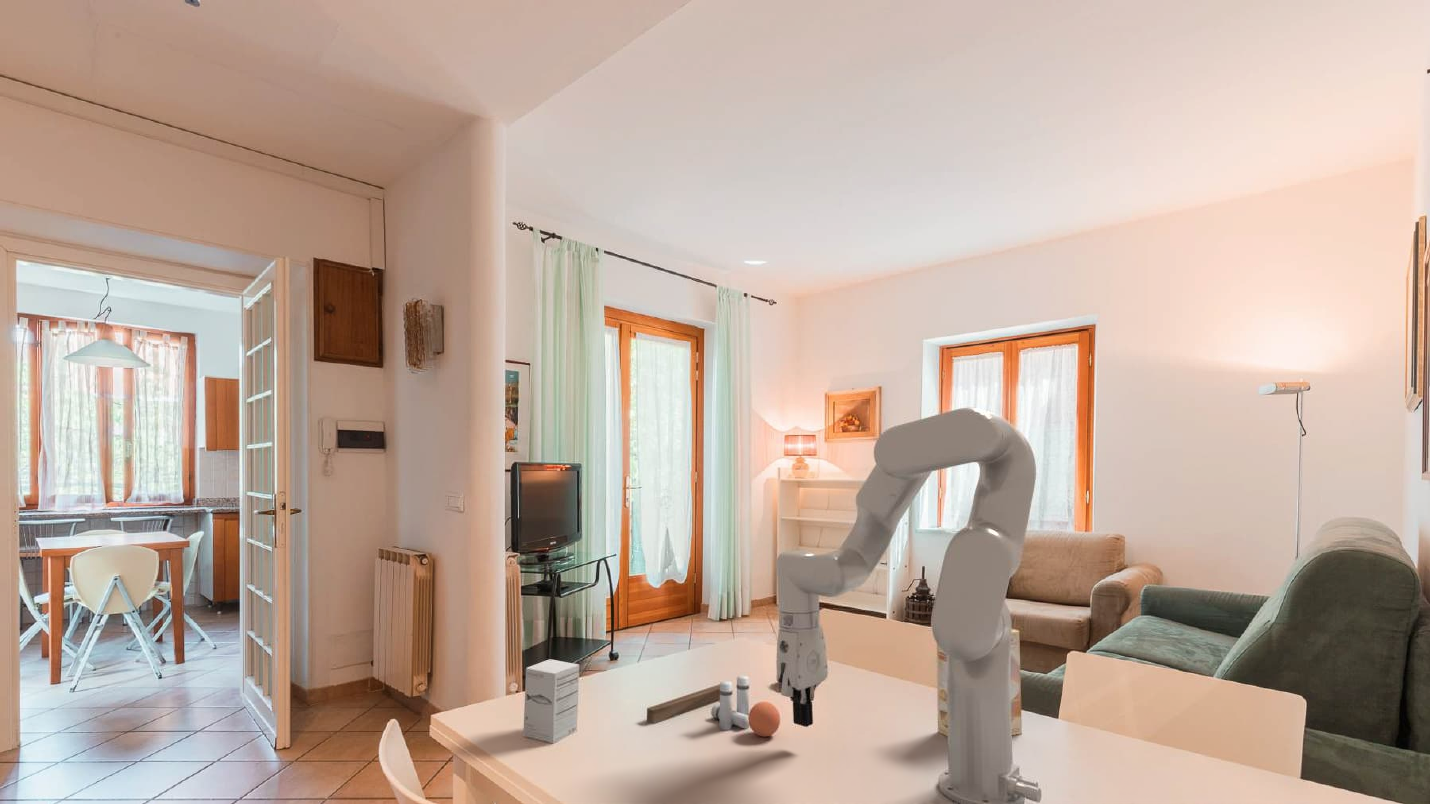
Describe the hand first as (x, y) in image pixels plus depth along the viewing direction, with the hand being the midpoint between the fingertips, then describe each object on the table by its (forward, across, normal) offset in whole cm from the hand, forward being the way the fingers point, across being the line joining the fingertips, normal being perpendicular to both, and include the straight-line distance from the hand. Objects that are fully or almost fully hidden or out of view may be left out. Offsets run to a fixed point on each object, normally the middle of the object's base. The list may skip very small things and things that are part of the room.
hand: (803, 723), depth 125 cm
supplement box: (+3, -28, +38) cm, 48 cm away
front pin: (+3, 0, +14) cm, 14 cm away
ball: (+1, 0, +9) cm, 9 cm away
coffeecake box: (+6, +30, -20) cm, 36 cm away
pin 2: (+4, +2, +17) cm, 17 cm away
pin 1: (+4, -3, +17) cm, 17 cm away
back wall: (+3, 0, +29) cm, 29 cm away
